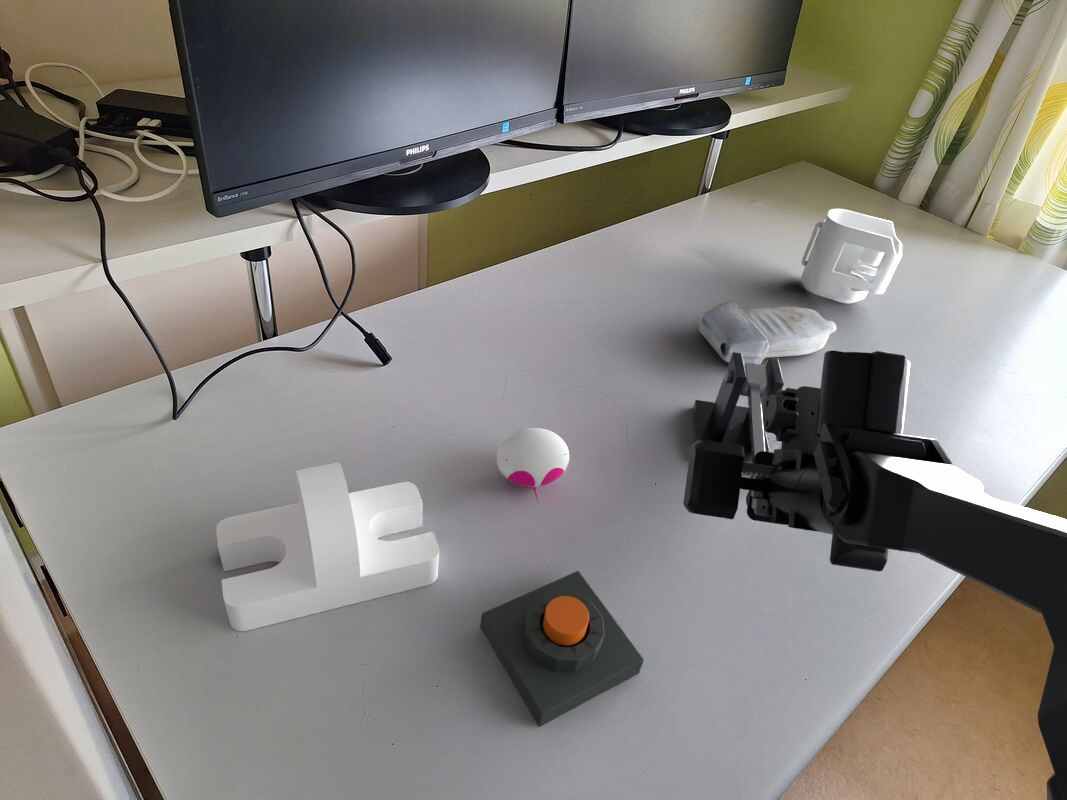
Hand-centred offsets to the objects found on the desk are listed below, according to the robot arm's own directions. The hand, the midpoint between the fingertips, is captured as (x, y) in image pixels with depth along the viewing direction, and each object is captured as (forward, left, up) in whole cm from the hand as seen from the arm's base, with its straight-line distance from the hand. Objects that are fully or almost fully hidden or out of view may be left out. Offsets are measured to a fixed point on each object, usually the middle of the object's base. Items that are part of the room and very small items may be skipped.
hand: (767, 487), depth 72 cm
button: (-2, +24, -4) cm, 24 cm away
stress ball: (+16, +16, -8) cm, 24 cm away
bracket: (+12, -9, -7) cm, 16 cm away
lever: (+6, -4, -2) cm, 8 cm away
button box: (-2, +24, -7) cm, 25 cm away
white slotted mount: (+15, +38, -8) cm, 41 cm away
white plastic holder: (+29, -47, -8) cm, 56 cm away
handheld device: (+24, -27, -8) cm, 37 cm away
